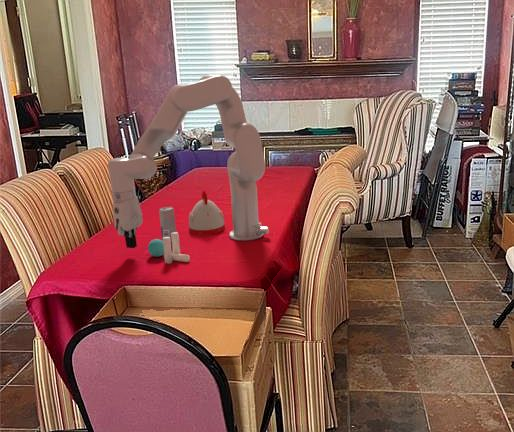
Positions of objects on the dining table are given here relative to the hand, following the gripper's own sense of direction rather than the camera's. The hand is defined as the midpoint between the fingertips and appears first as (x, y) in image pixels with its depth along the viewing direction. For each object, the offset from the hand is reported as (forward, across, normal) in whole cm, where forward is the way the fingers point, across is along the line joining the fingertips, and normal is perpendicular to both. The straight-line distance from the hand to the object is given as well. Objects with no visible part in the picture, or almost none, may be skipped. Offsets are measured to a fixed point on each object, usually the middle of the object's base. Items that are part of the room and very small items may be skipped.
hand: (131, 247), depth 190 cm
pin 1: (+4, -2, -16) cm, 16 cm away
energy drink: (+4, +19, -2) cm, 20 cm away
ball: (0, +2, -8) cm, 9 cm away
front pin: (+3, +1, -13) cm, 13 cm away
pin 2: (+4, +4, -16) cm, 16 cm away
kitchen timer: (+4, +35, -10) cm, 37 cm away
